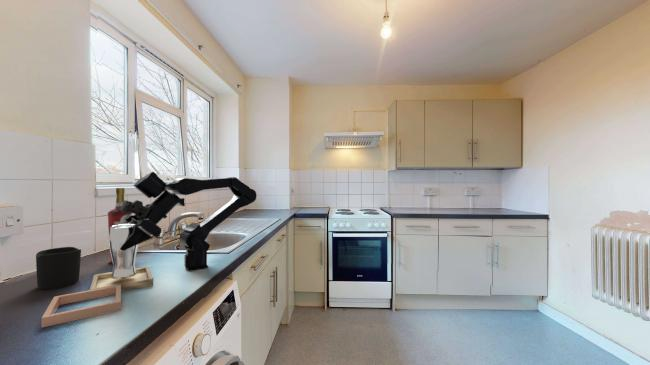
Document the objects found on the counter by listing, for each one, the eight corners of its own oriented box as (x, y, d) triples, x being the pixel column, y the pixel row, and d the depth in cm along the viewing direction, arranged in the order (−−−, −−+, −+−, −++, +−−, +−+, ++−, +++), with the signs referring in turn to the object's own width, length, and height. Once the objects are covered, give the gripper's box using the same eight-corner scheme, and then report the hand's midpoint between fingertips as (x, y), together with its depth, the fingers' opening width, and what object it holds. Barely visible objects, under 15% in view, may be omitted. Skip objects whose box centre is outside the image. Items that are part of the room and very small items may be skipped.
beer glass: (114, 282, 75) (114, 229, 75) (105, 276, 79) (105, 226, 78) (142, 274, 81) (142, 225, 80) (132, 270, 84) (132, 223, 84)
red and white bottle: (123, 258, 106) (124, 187, 106) (135, 260, 103) (136, 188, 103) (102, 263, 99) (103, 188, 99) (115, 265, 96) (116, 188, 96)
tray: (149, 272, 89) (149, 266, 89) (153, 285, 78) (153, 278, 78) (94, 281, 81) (94, 274, 81) (89, 297, 70) (89, 289, 70)
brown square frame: (120, 291, 73) (120, 284, 73) (120, 310, 63) (120, 301, 63) (54, 304, 65) (54, 296, 65) (41, 327, 55) (41, 318, 55)
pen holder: (87, 277, 84) (87, 245, 84) (69, 288, 75) (70, 253, 75) (49, 280, 81) (49, 247, 81) (26, 292, 72) (26, 255, 72)
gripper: (131, 190, 89) (87, 227, 80) (148, 191, 76) (99, 236, 68) (158, 211, 95) (120, 248, 86) (178, 216, 82) (136, 259, 74)
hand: (118, 247), depth 78 cm, fingers closed on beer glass, 7 cm apart
